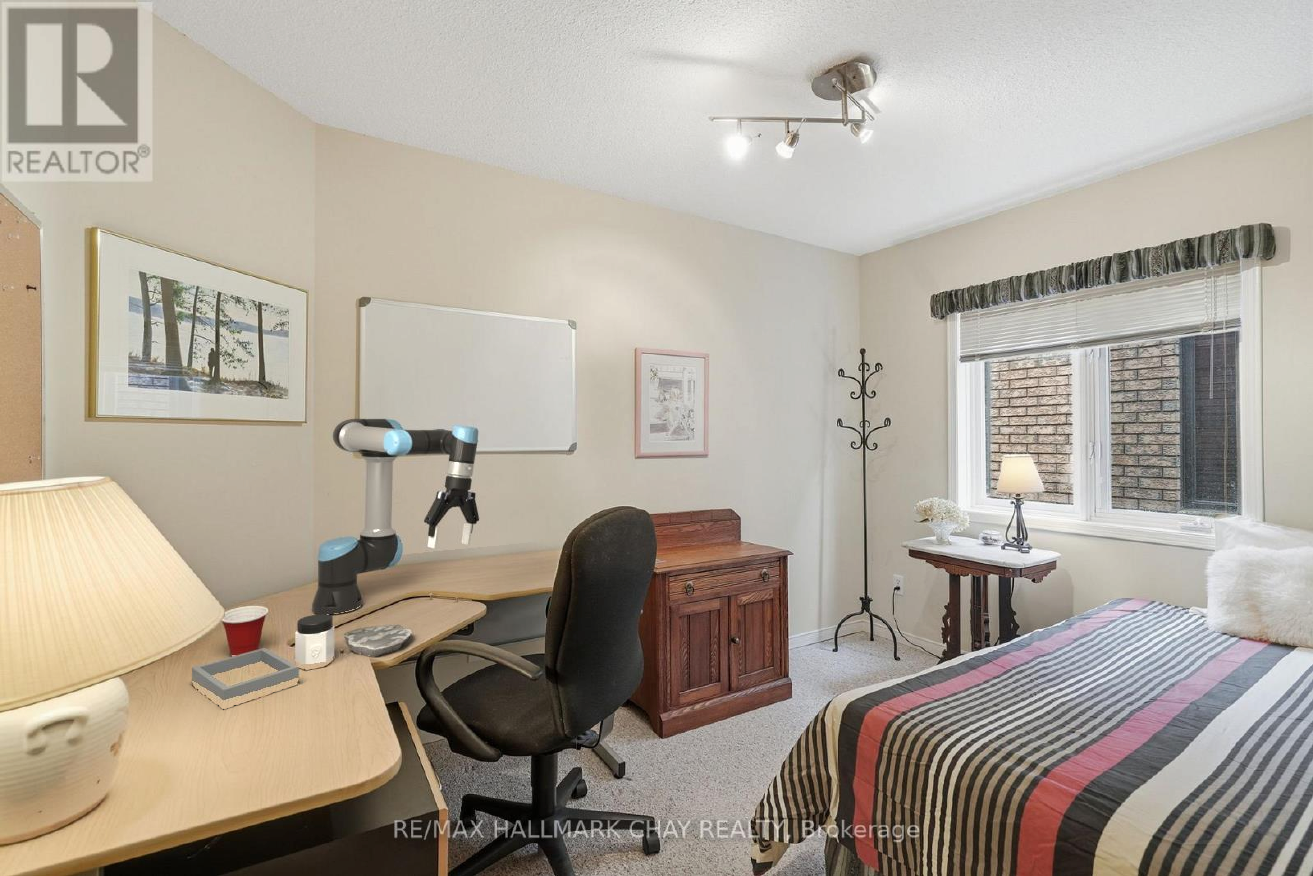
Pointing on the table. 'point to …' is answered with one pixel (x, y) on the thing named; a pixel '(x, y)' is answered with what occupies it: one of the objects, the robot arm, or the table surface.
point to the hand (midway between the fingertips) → (449, 545)
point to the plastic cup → (244, 628)
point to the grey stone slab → (377, 639)
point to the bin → (206, 671)
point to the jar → (314, 639)
